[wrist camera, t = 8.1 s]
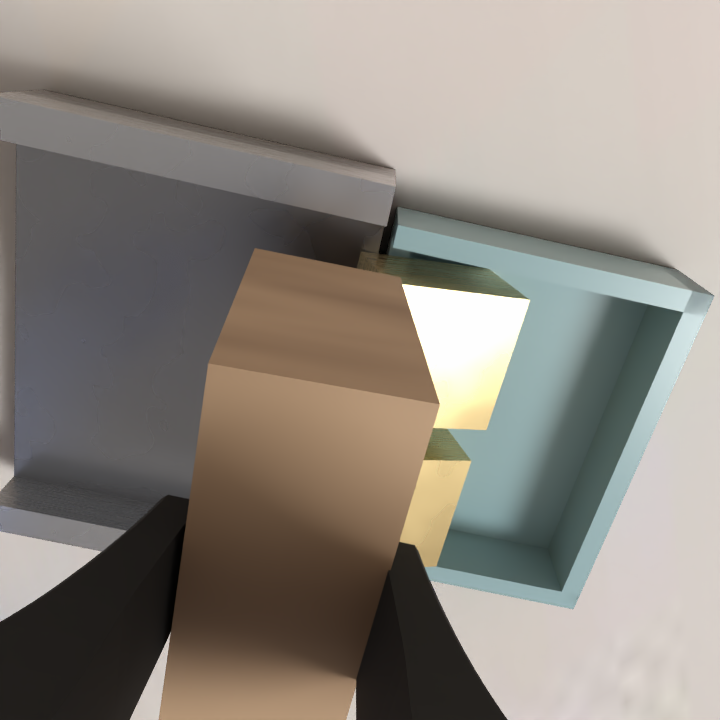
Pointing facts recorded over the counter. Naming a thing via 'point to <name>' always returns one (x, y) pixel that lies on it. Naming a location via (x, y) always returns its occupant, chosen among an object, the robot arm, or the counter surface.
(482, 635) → the counter surface
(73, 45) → the counter surface
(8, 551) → the counter surface
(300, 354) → the tan rectangular block
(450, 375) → the brass chip
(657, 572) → the counter surface
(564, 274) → the tray
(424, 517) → the brass chip
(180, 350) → the slot plate
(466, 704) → the robot arm
